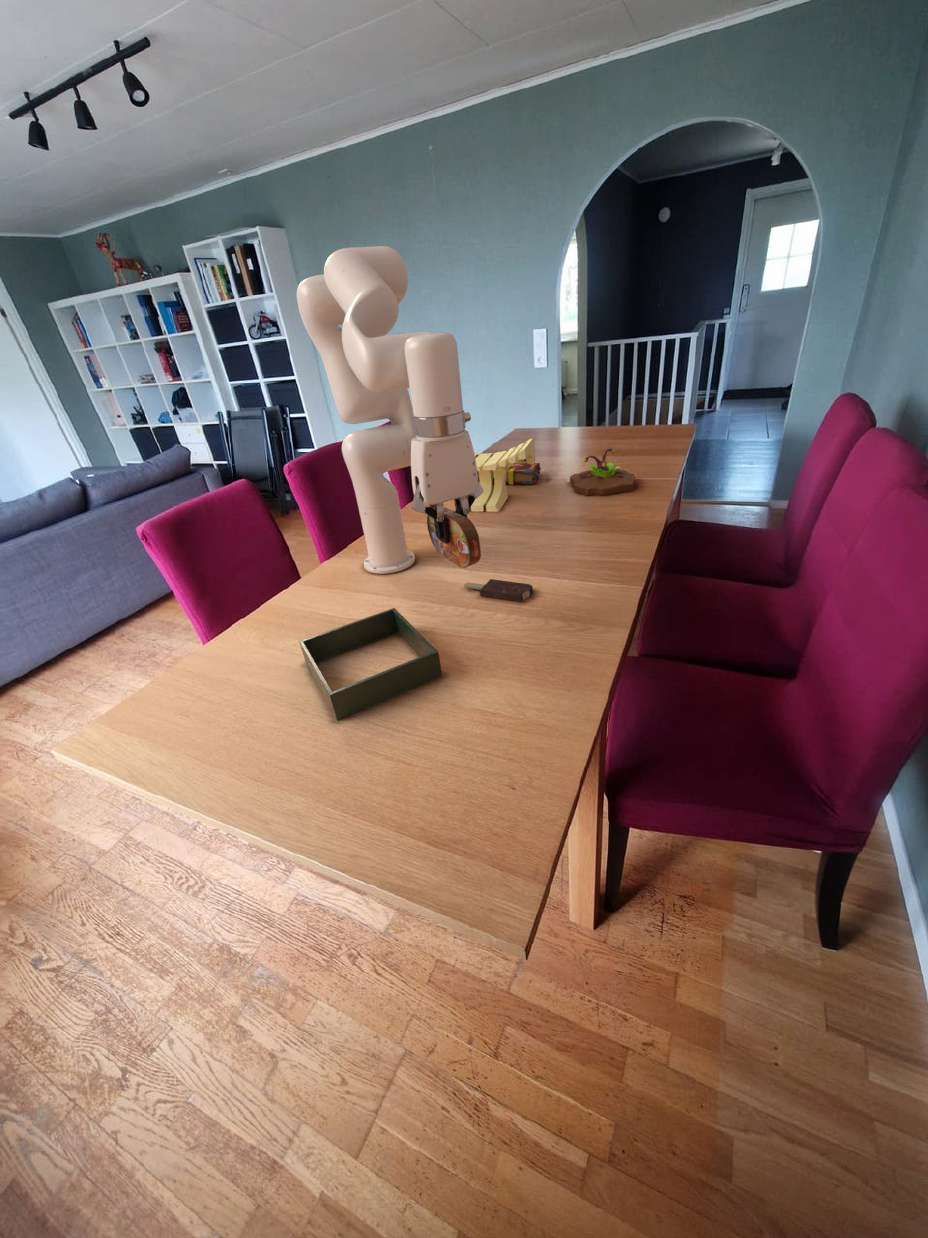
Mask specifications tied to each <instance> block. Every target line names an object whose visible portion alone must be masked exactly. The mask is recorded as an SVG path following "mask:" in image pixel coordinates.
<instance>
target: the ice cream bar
mask: <svg viewBox="0 0 928 1238" xmlns="http://www.w3.org/2000/svg"><path fill="white" fill-rule="evenodd" d="M463 585H464V588H467V589H470V590H477V591H478V590H479V596H480V597H482V598H489V599H495V600H501V601H508V602H514V603H523V602H524V600H525V599H527V598H531V597H532V595H533V592H534V590H533V589H534V588H533V585H532V584H530V583H523V582H516V581H509V580H502V579H493V578H490V579H489V580H488V581H487V582H486V583H485V584H484V583H476V582H465V583H464V584H463Z"/></svg>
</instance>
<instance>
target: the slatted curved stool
mask: <svg viewBox="0 0 928 1238" xmlns="http://www.w3.org/2000/svg"><path fill="white" fill-rule="evenodd" d="M474 454H475V460H476V466H477V474H478V481H479V483H480V485H481V486H482V488H483V493H482V494H481V495H480V496H479V497H478V498H477V499H475V501H474V502H473V504H472V506H471V507H470V509H469V510H470V511H469V512H473V513H474V512H476V513H477V512H484V511H485V512H487V513H491V512H492V513H493V512H495V513H496V512H498V513H499V512H500V510H501V509H502V507H503V506H504V504H505V503H506V502H507V500H508V497H509V496H508V490H507V485H506V483H505V480H506V474H507V471H508V468H509V467H510V466H512V465H514V464H515V463H517V464H523V463H525V462H526V463H527V464H531V465H533V464H534V463H536V443H535V439H534V438H533V437H532V438H529V439H527V440H526V442H523V443H520V444H518V446H513V447H512V448H509V449H508V450H503V451H497V452H494V453H493V452H491V453H490V452H489V453H477V452H474Z"/></svg>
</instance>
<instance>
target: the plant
mask: <svg viewBox="0 0 928 1238" xmlns="http://www.w3.org/2000/svg"><path fill="white" fill-rule="evenodd" d="M608 452H609V453H610V455H614V454H616V449H614V448H607V449H606V450H605V451H604V453H603V455H602V458H601V460H600V459H599V458H598V457H597V456H594V455H589V456H585V458H584V459H583V461H584V463H588V462H589V459H594V461H595V462H596V464H593V463H590V464H589V466H590V468H589V469H588V470H585V471H582V472H578V473H573V474H572V475H570V476H569V484H570V485H571V486H572V487H573V488H574V492H575V493H578V494H579V495H584V496H594V495H595V496H608V495H609V496H610V495H615V494H620V493H621V494H622V493H628V492H632V491H633V489H634V488H635V487H636V485H637V477H636V475H635V474H634V473H631V472H629V471H627V470H625V469H620V468H621V467H622V466H621V465H620V466H616V467H615V463H612V462H610V461H609V462H607V461H606V458H607V454H608Z"/></svg>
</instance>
